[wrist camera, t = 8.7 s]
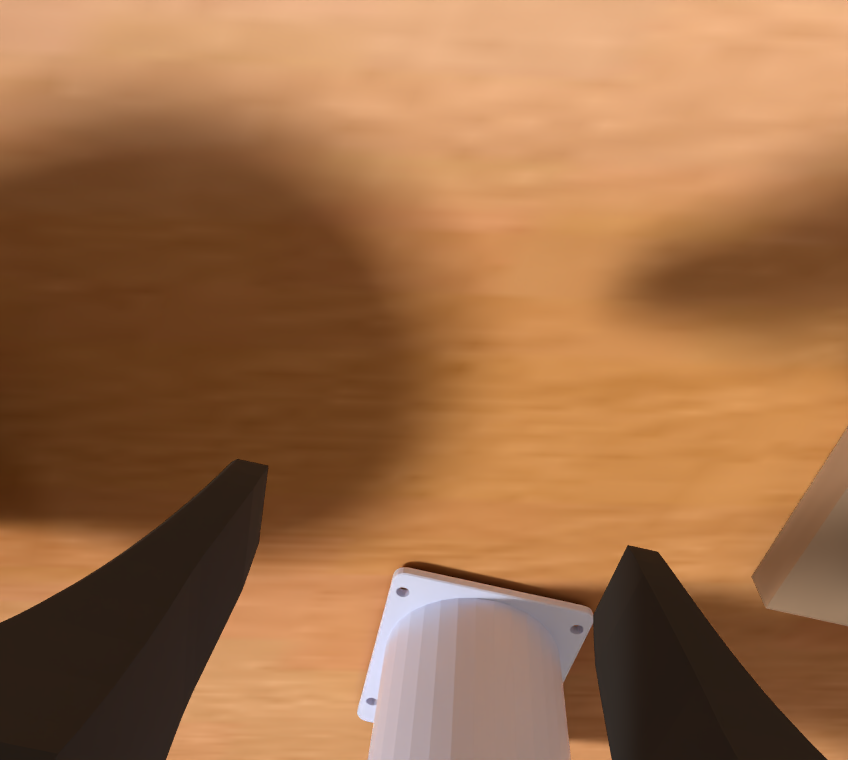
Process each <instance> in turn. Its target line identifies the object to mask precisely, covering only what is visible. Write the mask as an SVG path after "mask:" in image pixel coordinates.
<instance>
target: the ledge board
mask: <svg viewBox="0 0 848 760" xmlns="http://www.w3.org/2000/svg"><path fill="white" fill-rule="evenodd" d="M752 579H753V581H754V583H755V586H756V588H757V590H758V592H759V594H760V597H761V599H762V601H763V603H764V606H765V608H767V609H771V610H776V611H781V612H785V613H790V614H794V615H799V616H803V617H808V618H813V619H817V620H822V621H826V622H831V623H835V624H840V625H844V626H848V427H847V429H846V430H845V432H844V433H843V435H842V437H841V438H840V440H839V441H838V443H837V444H836V446H835V447H834V449H833V451H832V452H831V454H830V455H829V457H828V458H827V460H826V461H825V463H824V465H823V466H822V468H821V469H820V471H819V472H818V474H817V476H816V477H815V479H814V480H813V482H812V483H811V485H810V486H809V488H808V490H807V491H806V493H805V494H804V496H803V497H802V499H801V501H800V502H799V504H798V505H797V507H796V508H795V510H794V511H793V513H792V515H791V516H790V518H789V519H788V521H787V522H786V524H785V525H784V527H783V529H782V530H781V532H780V533H779V535H778V536H777V538H776V540H775V541H774V543H773V544H772V546H771V547H770V549H769V550H768V552H767V554H766V555H765V557H764V558H763V560H762V561H761V563H760V565H759V566H758V568H757V569H756V571H755V572H754V574H753V575H752Z"/></svg>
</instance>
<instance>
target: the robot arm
mask: <svg viewBox="0 0 848 760" xmlns="http://www.w3.org/2000/svg"><path fill="white" fill-rule="evenodd" d="M267 473H268V466H267V465H263V464H258V463H254V462H249V461H245V460H240V459H236V460H235V461H233V462H231V463H230V464H229V465H228V466H227V467H226V468H225V469H224V470H223V471H222V472H221V473H220V474H219V475H218V476H217V477H216V478H215V479H213V480H212V481H211V482H210V483H209V484H208V485H207V486H206V487H205V488H204V489H203V490H201V491H200V492H199V493H198V494H197V495H196V496H195V497H193V498H192V499H191V500H190V501H189V502H188V503H186V504H185V505H184V506H183V507H182V508H180V509H179V510H178V511H177V512H176V513H174V514H173V515H172V516H171V517H170V518H168V519H167V520H166V521H165V522H163V523H162V524H161V525H160V526H158V527H157V528H156V529H154V530H153V531H152V532H150V533H149V534H148V535H146V536H145V537H144V538H142V539H141V540H139V541H138V542H137V543H135V544H134V545H133V546H131V547H130V548H129V549H127V550H126V551H124V552H123V553H122V554H120V555H119V556H117V557H116V558H114V559H113V560H111V561H110V562H108V563H107V564H105V565H104V566H102V567H101V568H99V569H98V570H96V571H94V572H93V573H91V574H89V575H88V576H86V577H85V578H83V579H81V580H80V581H78V582H76V583H75V584H73V585H71V586H70V587H68V588H66V589H64V590H62V591H61V592H59V593H57V594H55V595H54V596H52V597H50V598H48V599H46V600H45V601H43V602H41V603H39V604H37V605H35V606H34V607H32V608H30V609H28V610H26V611H24V612H22V613H20V614H18V615H16V616H14V617H12V618H10V619H8V620H5V621H3V622H1V623H0V760H166V758H167V755H168V752H169V750H170V747H171V745H172V742H173V739H174V737H175V734H176V731H177V729H178V726H179V723H180V721H181V718H182V715H183V713H184V711H185V709H186V706H187V704H188V702H189V699H190V697H191V695H192V693H193V690H194V688H195V686H196V684H197V682H198V680H199V678H200V676H201V674H202V672H203V670H204V668H205V666H206V664H207V662H208V660H209V658H210V656H211V654H212V651H213V649H214V647H215V645H216V643H217V641H218V639H219V637H220V635H221V633H222V631H223V629H224V627H225V625H226V623H227V621H228V619H229V617H230V615H231V612H232V610H233V608H234V606H235V604H236V602H237V600H238V598H239V596H240V594H241V592H242V589H243V587H244V584H245V581H246V578H247V575H248V573H249V570H250V567H251V564H252V561H253V558H254V555H255V553H256V550H257V547H258V544H259V537H260V529H261V521H262V513H263V505H264V497H265V489H266V481H267ZM400 587H404V588H407V589H401V588H400ZM592 624H593V627H594V651H595V666H596V672H597V678H598V684H599V690H600V696H601V702H602V707H603V713H604V718H605V724H606V730H607V735H608V741H609V746H610V752H611V757H612V760H827V759H826V758H825V757H824V756H823V755H822V754H821V753H820V752H819V751H818V750H817V749H816V748H815V747H814V746H813V745H812V744H811V743H810V742H809V741H808V740H807V739H806V737H805V736H804V735H803V734H802V733H801V732H800V731H799V730H798V729H797V728H796V727H795V726H794V725H793V724H792V723H791V721H790V720H789V719H788V718H787V717H786V716H785V715H784V714H783V713H782V712H781V711H780V710H779V709H778V707H777V706H776V705H775V704H774V703H773V702H772V701H771V699H770V698H769V697H768V696H767V695H766V694H765V693H764V691H763V690H762V689H761V688H760V687H759V685H758V684H757V683H756V682H755V681H754V679H753V678H752V677H751V676H750V674H749V673H748V672H747V671H746V670H745V668H744V667H743V666H742V665H741V664H740V662H739V661H738V660H737V658H736V657H735V656H734V655H733V653H732V652H731V651H730V650H729V648H728V647H727V646H726V644H725V643H724V642H723V640H722V639H721V638H720V636H719V635H718V634H717V632H716V631H715V630H714V628H713V627H712V626H711V624H710V623H709V622H708V620H707V619H706V618H705V616H704V615H703V613H702V612H701V611H700V609H699V608H698V607H697V605H696V604H695V602H694V601H693V600H692V598H691V597H690V595H689V594H688V593H687V591H686V590H685V588H684V587H683V586H682V584H681V583H680V581H679V580H678V579H677V577H676V576H675V574H674V573H673V572H672V570H671V569H670V567H669V566H668V565H667V563H666V562H665V561H664V559H663V558H662V557H661V555H660V554H659V553H658V552H656V551H652V550H647V549H643V548H638V547H634V546H629V545H628V546H627V548H626V550H625V552H624V554H623V556H622V558H621V560H620V562H619V564H618V566H617V568H616V570H615V572H614V574H613V576H612V578H611V580H610V582H609V584H608V586H607V588H606V590H605V592H604V594H603V596H602V598H601V600H600V602H599V604H598V606H597V609H596V611H595V613H594V615H593V613H592V610H591V609H590V608H589V607H586V606H584V605H579V604H574V603H570V602H565V601H561V600H556V599H551V598H547V597H542V596H538V595H533V594H528V593H524V592H519V591H515V590H510V589H505V588H501V587H496V586H492V585H487V584H482V583H478V582H473V581H469V580H464V579H459V578H455V577H450V576H446V575H441V574H436V573H432V572H427V571H423V570H418V569H413V568H409V567H402V568H399V569H397V570H396V571H395V572H394V574H393V578H392V582H391V586H390V589H389V593H388V597H387V601H386V604H385V608H384V612H383V616H382V619H381V623H380V627H379V631H378V634H377V638H376V642H375V646H374V649H373V653H372V657H371V661H370V664H369V668H368V672H367V676H366V679H365V683H364V687H363V691H362V694H361V698H360V702H359V706H358V711H357V715H358V716H359V718H361V719H362V720H364V721H368V722H373V723H374V724H373V730H372V737H371V743H370V750H369V756H368V760H571V755H570V745H569V736H568V727H567V718H566V709H565V699H564V690H563V682H564V680H565V678H566V676H567V674H568V672H569V670H570V668H571V666H572V664H573V662H574V660H575V658H576V656H577V654H578V652H579V650H580V648H581V646H582V644H583V642H584V640H585V638H586V636H587V634H588V632H589V630H590V628H591V626H592ZM574 625H579V626H574Z"/></svg>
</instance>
